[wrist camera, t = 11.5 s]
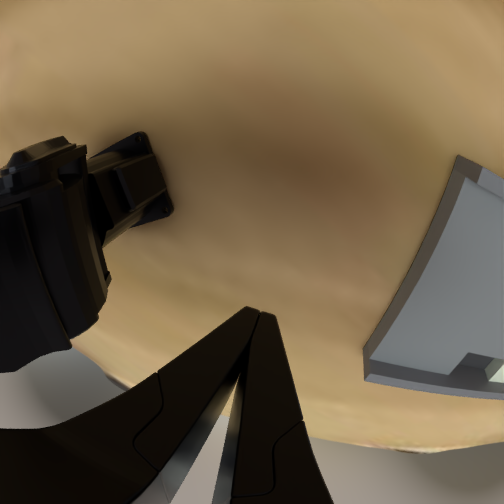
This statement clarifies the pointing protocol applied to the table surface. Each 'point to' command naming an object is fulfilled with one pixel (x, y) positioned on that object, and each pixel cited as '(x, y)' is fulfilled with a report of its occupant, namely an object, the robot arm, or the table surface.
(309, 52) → the table surface
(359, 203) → the table surface
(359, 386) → the table surface
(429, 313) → the box
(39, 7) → the table surface
